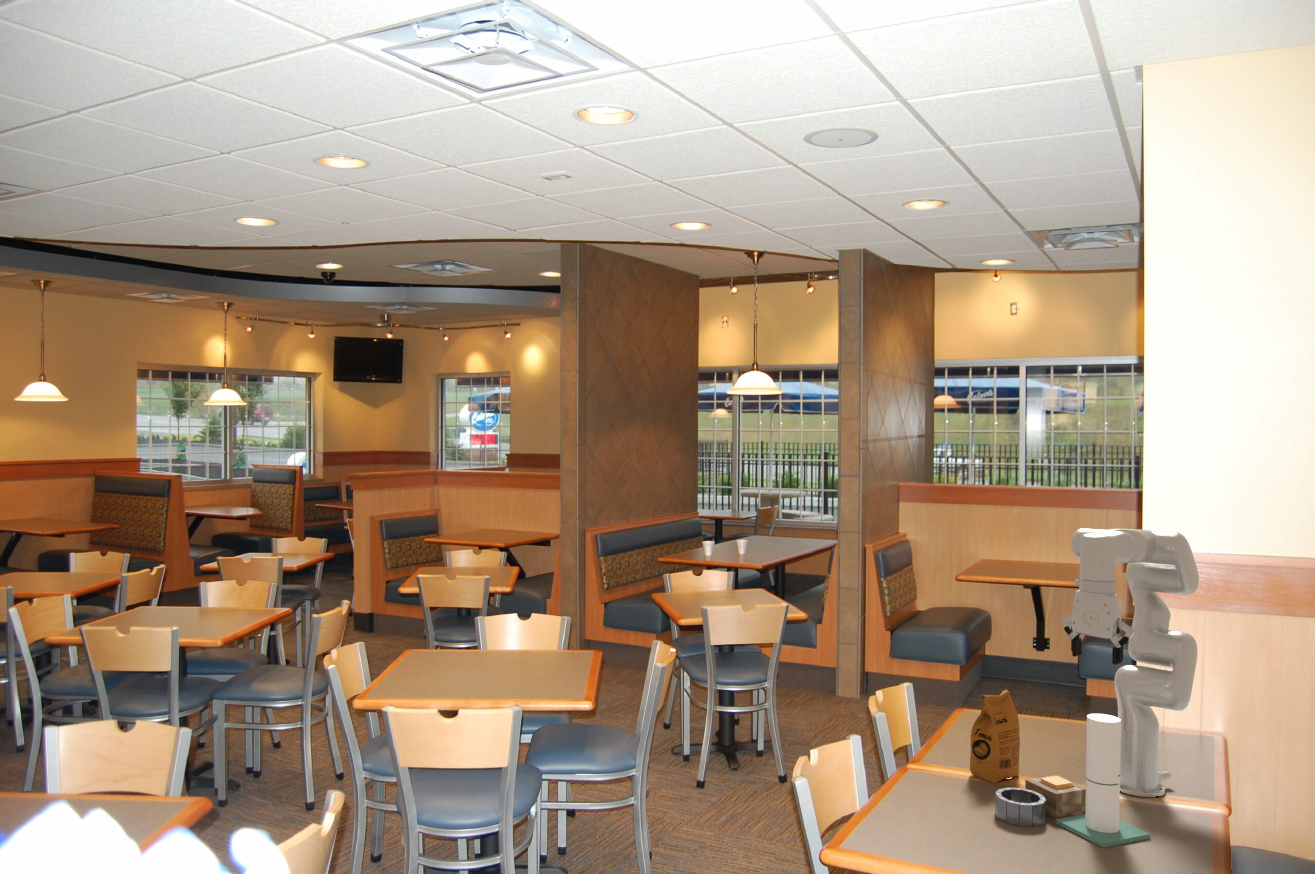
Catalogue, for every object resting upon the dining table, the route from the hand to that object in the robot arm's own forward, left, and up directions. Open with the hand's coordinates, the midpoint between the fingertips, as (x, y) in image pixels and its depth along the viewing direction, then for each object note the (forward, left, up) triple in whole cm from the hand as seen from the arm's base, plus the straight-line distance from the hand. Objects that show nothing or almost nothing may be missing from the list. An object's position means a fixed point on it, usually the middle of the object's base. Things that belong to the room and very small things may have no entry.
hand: (1096, 659), depth 229 cm
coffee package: (0, -34, -39) cm, 51 cm away
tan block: (+2, -10, -37) cm, 38 cm away
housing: (+2, -10, -38) cm, 40 cm away
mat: (+2, +4, -38) cm, 39 cm away
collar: (+14, -9, -38) cm, 42 cm away
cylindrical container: (+2, +4, -38) cm, 38 cm away
